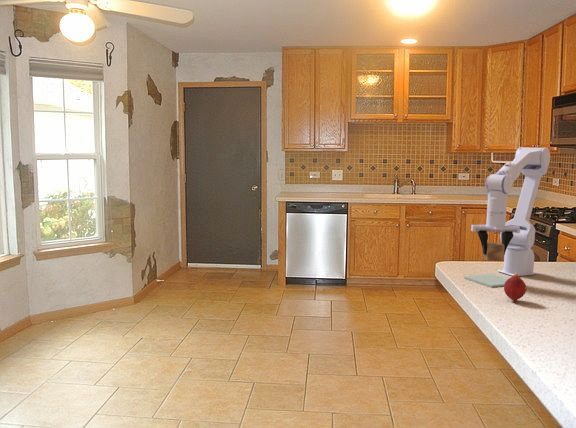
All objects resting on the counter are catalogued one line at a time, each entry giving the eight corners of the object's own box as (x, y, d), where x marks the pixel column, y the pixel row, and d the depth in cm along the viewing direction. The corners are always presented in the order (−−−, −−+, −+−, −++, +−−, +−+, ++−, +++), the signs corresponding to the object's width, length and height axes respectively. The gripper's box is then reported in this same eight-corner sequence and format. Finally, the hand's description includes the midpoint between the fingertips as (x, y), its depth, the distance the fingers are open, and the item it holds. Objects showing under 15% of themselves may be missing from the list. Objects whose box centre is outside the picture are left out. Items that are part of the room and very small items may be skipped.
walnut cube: (487, 260, 171) (488, 245, 170) (483, 257, 176) (484, 242, 175) (503, 261, 171) (504, 245, 170) (499, 257, 175) (500, 242, 175)
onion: (527, 304, 149) (529, 276, 148) (505, 303, 150) (507, 275, 149) (522, 298, 155) (524, 271, 154) (501, 297, 156) (503, 270, 155)
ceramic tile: (492, 275, 182) (492, 273, 182) (520, 284, 171) (520, 282, 171) (464, 278, 177) (464, 276, 177) (491, 287, 166) (491, 285, 166)
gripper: (475, 213, 168) (473, 255, 170) (524, 214, 167) (520, 257, 168) (470, 210, 175) (468, 251, 177) (517, 211, 174) (514, 253, 175)
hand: (493, 254), depth 173 cm, fingers closed on walnut cube, 5 cm apart
